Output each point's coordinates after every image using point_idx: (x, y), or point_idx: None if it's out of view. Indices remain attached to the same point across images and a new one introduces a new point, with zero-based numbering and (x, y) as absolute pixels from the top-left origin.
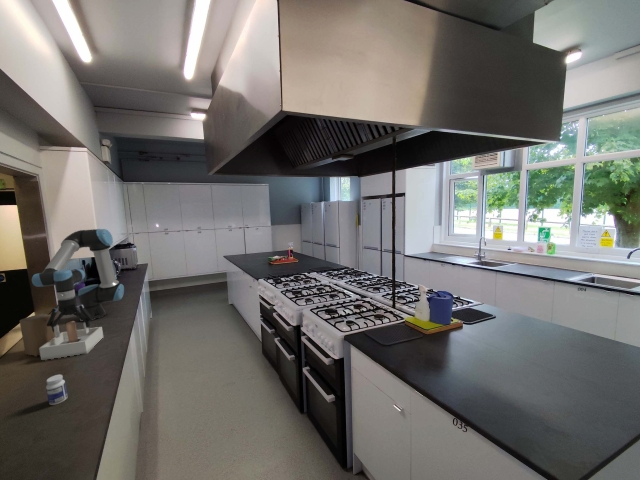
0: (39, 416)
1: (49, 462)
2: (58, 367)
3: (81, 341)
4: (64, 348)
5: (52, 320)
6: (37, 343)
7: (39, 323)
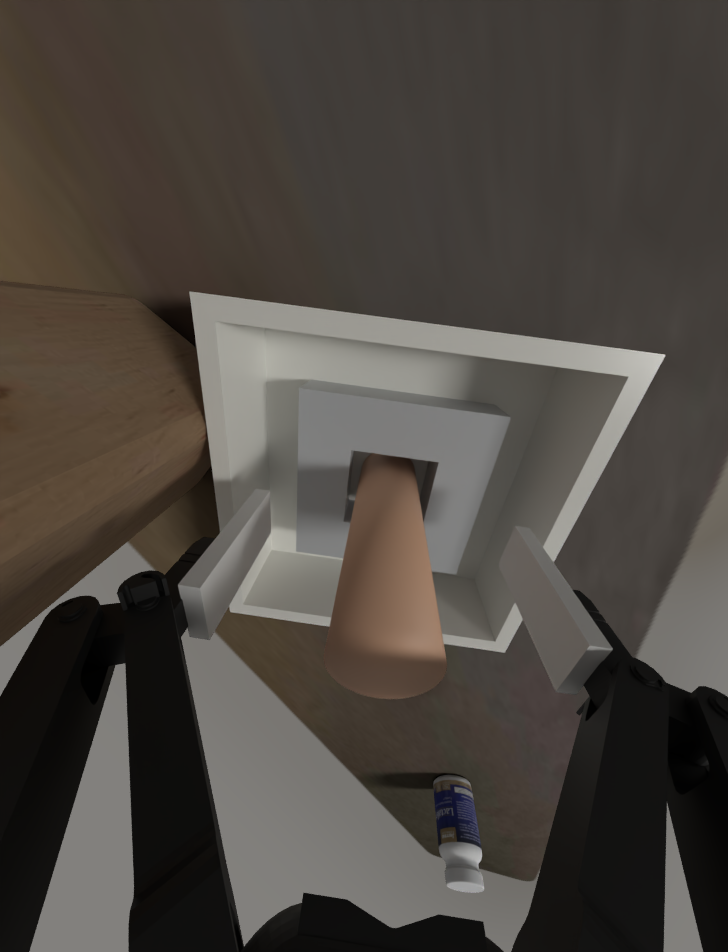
0: (428, 800)
1: None
2: None
3: (481, 642)
4: None
5: (79, 720)
6: (147, 523)
7: None
